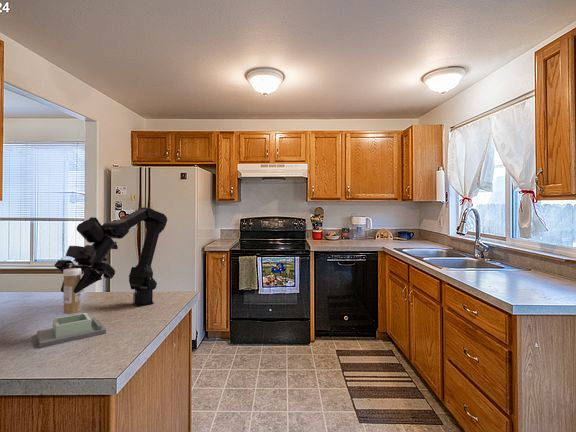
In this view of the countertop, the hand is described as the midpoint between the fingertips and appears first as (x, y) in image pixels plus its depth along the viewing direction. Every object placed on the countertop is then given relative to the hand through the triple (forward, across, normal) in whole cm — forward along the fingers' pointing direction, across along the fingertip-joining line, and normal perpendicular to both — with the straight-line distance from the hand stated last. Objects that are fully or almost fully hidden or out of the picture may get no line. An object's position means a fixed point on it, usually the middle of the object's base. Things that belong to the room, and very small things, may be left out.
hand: (68, 292), depth 92 cm
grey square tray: (+9, 0, +10) cm, 13 cm away
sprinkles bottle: (+4, 0, +6) cm, 7 cm away
